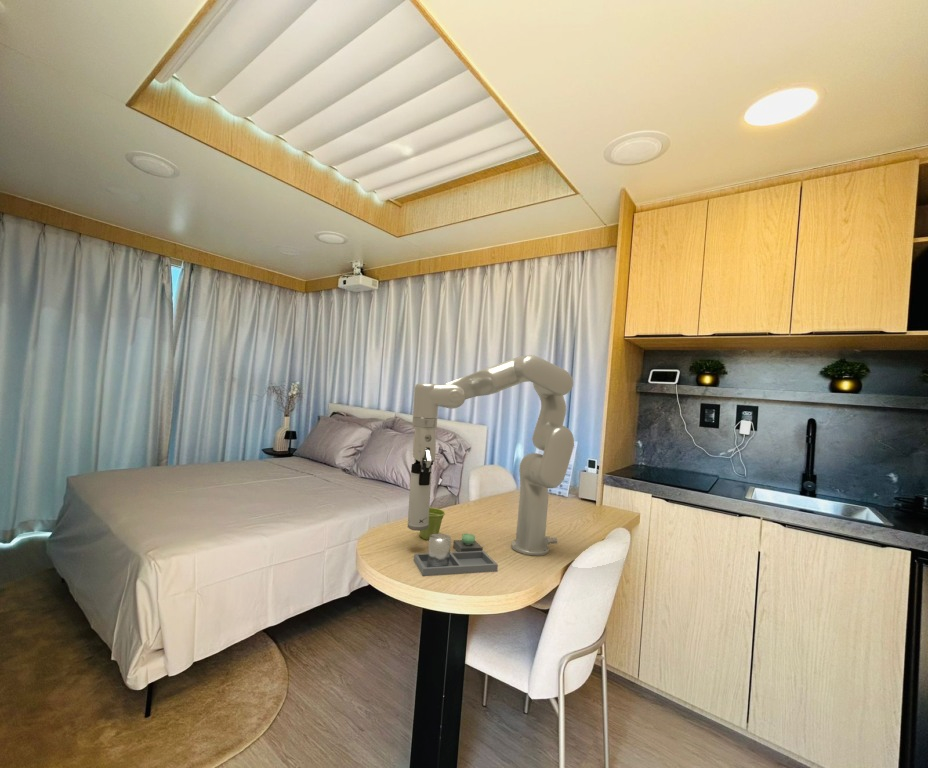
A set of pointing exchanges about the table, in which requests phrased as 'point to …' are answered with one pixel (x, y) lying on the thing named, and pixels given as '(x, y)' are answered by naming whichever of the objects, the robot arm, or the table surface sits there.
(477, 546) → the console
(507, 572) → the table surface
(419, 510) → the travel mug
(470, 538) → the button
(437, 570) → the divided tray
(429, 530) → the plant pot
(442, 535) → the steel stub
